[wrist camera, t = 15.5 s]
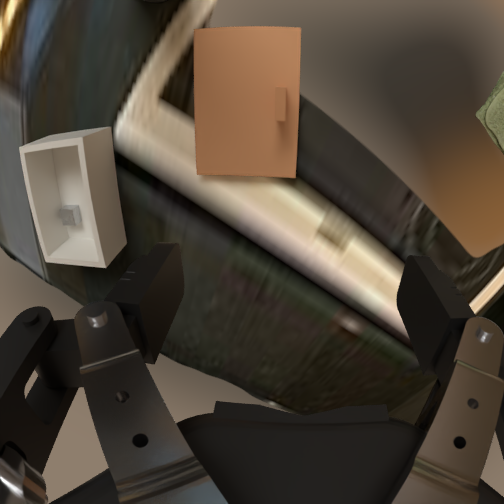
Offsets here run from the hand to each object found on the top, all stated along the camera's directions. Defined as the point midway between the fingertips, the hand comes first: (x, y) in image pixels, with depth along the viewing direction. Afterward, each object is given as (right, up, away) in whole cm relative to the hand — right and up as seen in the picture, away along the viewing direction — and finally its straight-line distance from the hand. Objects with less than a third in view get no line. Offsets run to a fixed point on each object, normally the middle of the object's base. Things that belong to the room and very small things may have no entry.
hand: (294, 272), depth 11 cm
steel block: (-32, +7, +39) cm, 51 cm away
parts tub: (-29, +11, +37) cm, 49 cm away
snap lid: (-2, +21, +29) cm, 36 cm away
